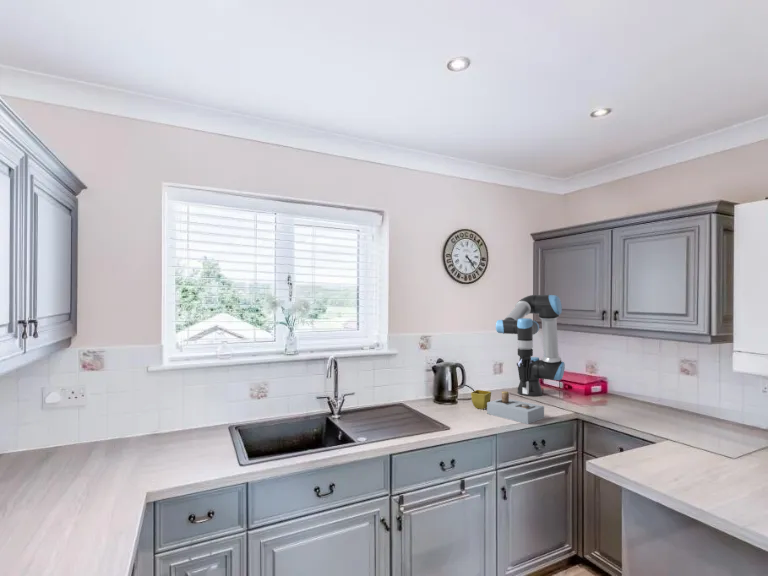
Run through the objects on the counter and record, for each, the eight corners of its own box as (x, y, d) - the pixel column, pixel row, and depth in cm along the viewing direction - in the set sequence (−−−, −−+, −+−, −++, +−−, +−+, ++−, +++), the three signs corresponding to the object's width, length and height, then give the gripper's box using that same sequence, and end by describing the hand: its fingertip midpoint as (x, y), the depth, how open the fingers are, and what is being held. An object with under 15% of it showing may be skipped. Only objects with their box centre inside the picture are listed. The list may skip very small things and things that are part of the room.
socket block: (504, 408, 238) (503, 397, 238) (544, 417, 220) (544, 405, 220) (487, 413, 227) (487, 402, 228) (527, 424, 209) (527, 411, 209)
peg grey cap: (524, 415, 222) (524, 403, 222) (530, 417, 219) (530, 405, 219) (520, 417, 219) (520, 404, 219) (526, 418, 217) (526, 406, 217)
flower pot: (485, 411, 233) (485, 394, 233) (470, 408, 238) (470, 392, 238) (491, 407, 240) (491, 391, 240) (477, 405, 245) (477, 389, 245)
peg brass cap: (504, 402, 231) (504, 390, 231) (510, 403, 228) (510, 392, 228) (500, 403, 228) (500, 391, 228) (506, 405, 226) (506, 393, 226)
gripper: (525, 346, 227) (525, 390, 227) (511, 348, 218) (512, 394, 218) (538, 347, 221) (538, 392, 221) (525, 350, 212) (525, 397, 213)
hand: (525, 393), depth 220 cm, fingers closed
